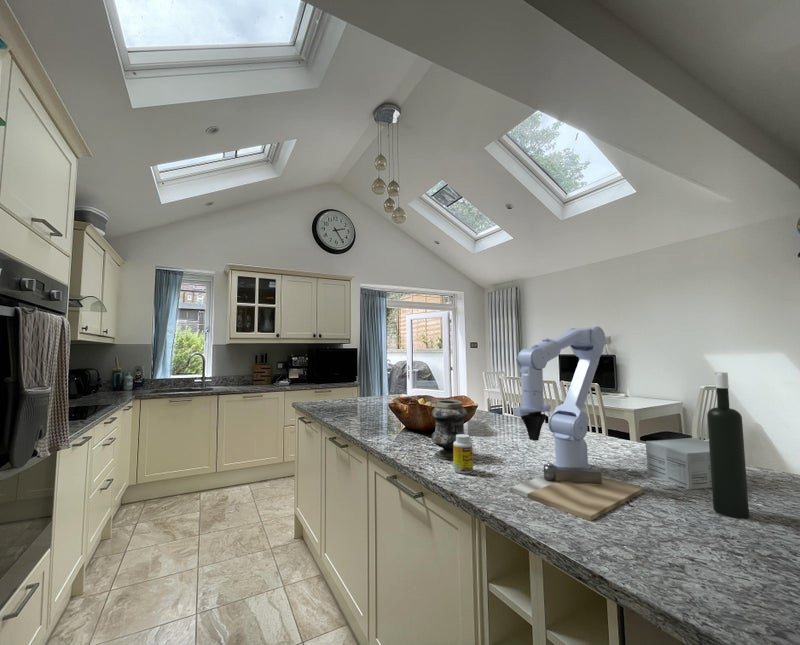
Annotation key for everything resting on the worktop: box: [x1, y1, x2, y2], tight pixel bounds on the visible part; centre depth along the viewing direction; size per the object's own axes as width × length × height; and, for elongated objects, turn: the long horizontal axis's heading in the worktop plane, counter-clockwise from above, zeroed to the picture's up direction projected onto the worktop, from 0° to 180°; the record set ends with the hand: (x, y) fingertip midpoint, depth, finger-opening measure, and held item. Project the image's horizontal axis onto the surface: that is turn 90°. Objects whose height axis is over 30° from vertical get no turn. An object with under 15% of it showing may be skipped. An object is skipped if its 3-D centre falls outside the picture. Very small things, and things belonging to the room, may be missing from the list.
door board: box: [509, 467, 645, 522], centre depth 92 cm, size 26×20×4 cm
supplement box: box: [645, 437, 712, 490], centre depth 101 cm, size 17×13×9 cm
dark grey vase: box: [431, 399, 468, 461], centre depth 125 cm, size 12×12×18 cm
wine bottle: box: [706, 371, 750, 520], centre depth 81 cm, size 6×6×30 cm
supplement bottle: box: [453, 433, 474, 475], centre depth 108 cm, size 6×6×10 cm
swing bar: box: [543, 462, 603, 484], centre depth 96 cm, size 14×3×4 cm, turn 77°
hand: (534, 439), depth 104 cm, fingers closed
